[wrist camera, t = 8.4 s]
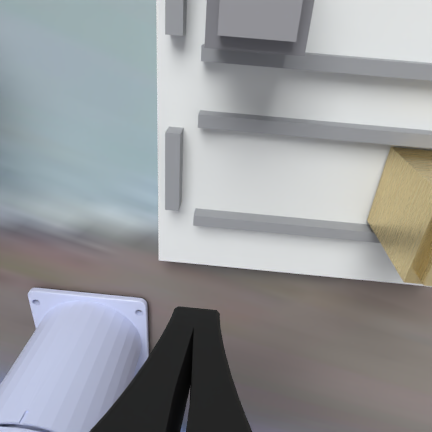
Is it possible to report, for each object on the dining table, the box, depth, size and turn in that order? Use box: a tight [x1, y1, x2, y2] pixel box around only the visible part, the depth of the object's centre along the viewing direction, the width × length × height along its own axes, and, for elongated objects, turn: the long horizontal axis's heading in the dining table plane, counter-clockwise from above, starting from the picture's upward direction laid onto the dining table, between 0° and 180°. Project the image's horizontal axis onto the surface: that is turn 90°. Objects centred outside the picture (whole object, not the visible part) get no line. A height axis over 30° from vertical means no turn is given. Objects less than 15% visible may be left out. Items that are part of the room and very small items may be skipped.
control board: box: [156, 0, 432, 287], centre depth 16 cm, size 22×16×2 cm
